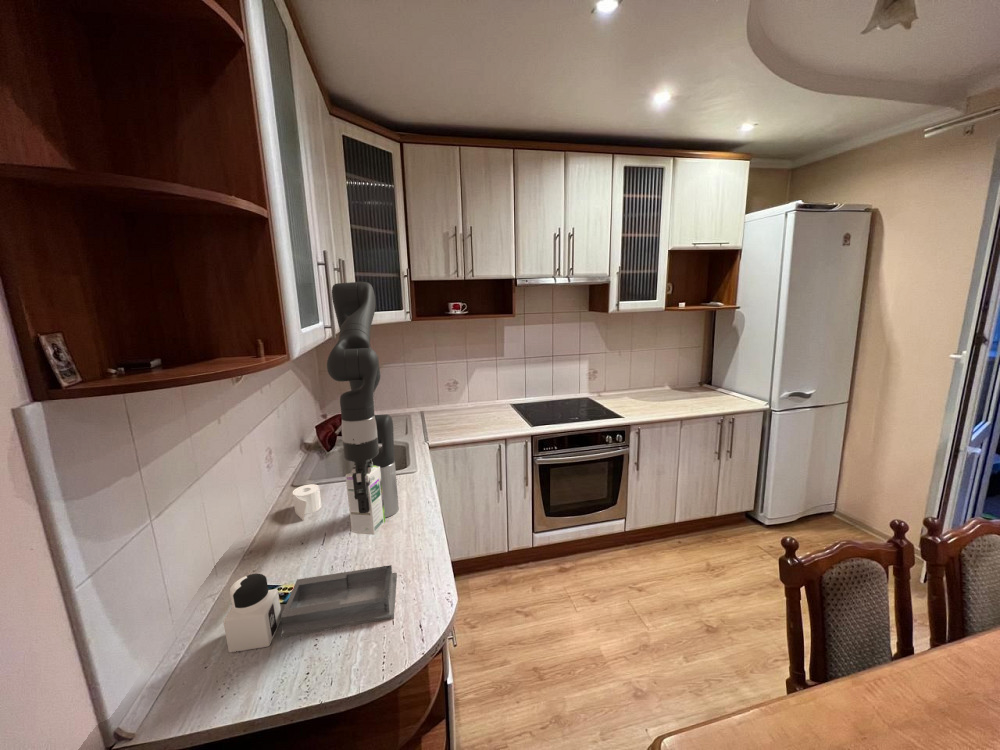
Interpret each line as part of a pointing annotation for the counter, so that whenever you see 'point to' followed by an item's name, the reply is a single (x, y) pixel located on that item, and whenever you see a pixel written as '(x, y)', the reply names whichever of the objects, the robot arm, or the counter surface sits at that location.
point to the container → (252, 614)
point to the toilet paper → (306, 500)
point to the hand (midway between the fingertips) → (366, 504)
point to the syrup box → (376, 514)
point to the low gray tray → (340, 600)
